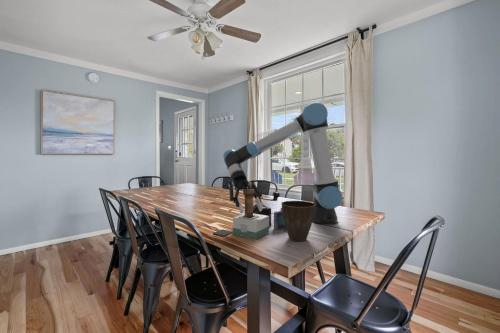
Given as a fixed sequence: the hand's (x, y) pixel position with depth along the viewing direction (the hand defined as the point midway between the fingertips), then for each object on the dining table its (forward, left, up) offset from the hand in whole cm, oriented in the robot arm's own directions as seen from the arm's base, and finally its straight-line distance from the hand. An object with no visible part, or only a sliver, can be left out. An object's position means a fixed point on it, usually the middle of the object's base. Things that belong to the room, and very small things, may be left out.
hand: (252, 210), depth 113 cm
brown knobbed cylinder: (+3, -1, -9) cm, 9 cm away
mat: (+14, +5, -12) cm, 19 cm away
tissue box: (+3, -3, -12) cm, 13 cm away
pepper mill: (+6, -20, -12) cm, 25 cm away
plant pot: (-19, -8, -12) cm, 24 cm away
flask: (-6, -18, -12) cm, 23 cm away
